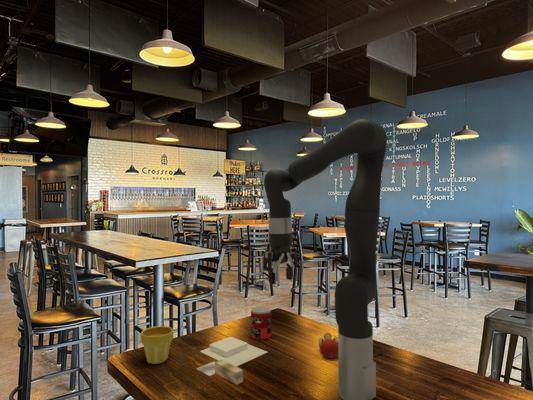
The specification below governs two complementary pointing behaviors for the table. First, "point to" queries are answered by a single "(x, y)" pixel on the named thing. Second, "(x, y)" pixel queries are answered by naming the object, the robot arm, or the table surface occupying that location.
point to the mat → (237, 355)
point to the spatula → (223, 371)
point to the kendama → (328, 345)
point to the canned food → (261, 323)
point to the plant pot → (157, 343)
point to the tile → (228, 346)
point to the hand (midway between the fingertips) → (281, 281)
